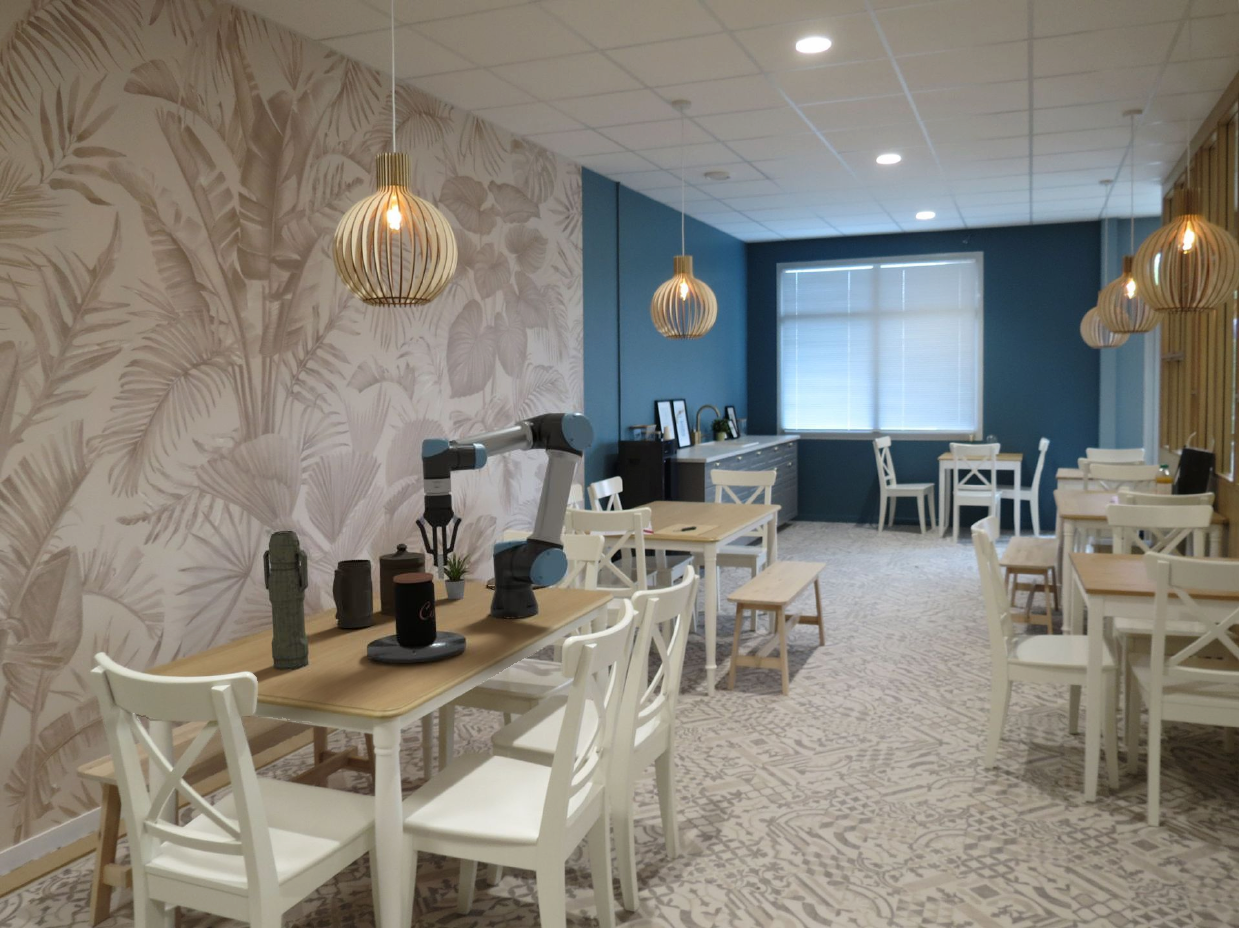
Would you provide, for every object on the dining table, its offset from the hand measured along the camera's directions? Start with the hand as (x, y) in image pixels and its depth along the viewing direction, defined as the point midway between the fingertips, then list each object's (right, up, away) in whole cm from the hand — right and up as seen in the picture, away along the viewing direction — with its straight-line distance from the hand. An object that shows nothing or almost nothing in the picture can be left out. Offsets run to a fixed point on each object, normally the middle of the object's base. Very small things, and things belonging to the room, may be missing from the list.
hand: (441, 577), depth 275 cm
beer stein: (-31, -18, +23) cm, 43 cm away
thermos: (-36, -21, -19) cm, 45 cm away
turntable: (-4, -19, -11) cm, 23 cm away
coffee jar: (-4, -16, -11) cm, 20 cm away
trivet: (+14, -13, +85) cm, 88 cm away
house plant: (-6, -14, +64) cm, 66 cm away
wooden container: (-20, -16, +45) cm, 52 cm away
